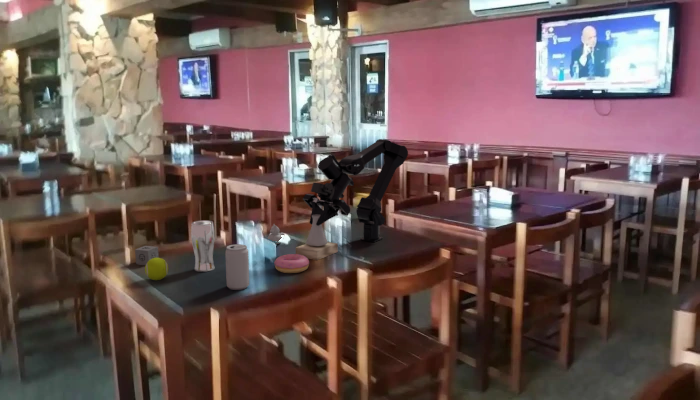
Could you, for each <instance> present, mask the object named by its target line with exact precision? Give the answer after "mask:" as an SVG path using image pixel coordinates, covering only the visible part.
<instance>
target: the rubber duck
mask: <svg viewBox="0 0 700 400" xmlns="http://www.w3.org/2000/svg"><path fill="white" fill-rule="evenodd" d="M269 232H270V233H269V235H268V237H267V240H268V239H270V240H272V241H277V242H278V241H279V240H280V239H281V238H282V237H281V235H284V236H285V233H284V232H280V228H279V227H278V226H277V225H275V223H273V224H272V226H271V228H270V230H269ZM281 243H282V242H280V243H276V245H279V244H281Z"/></svg>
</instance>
